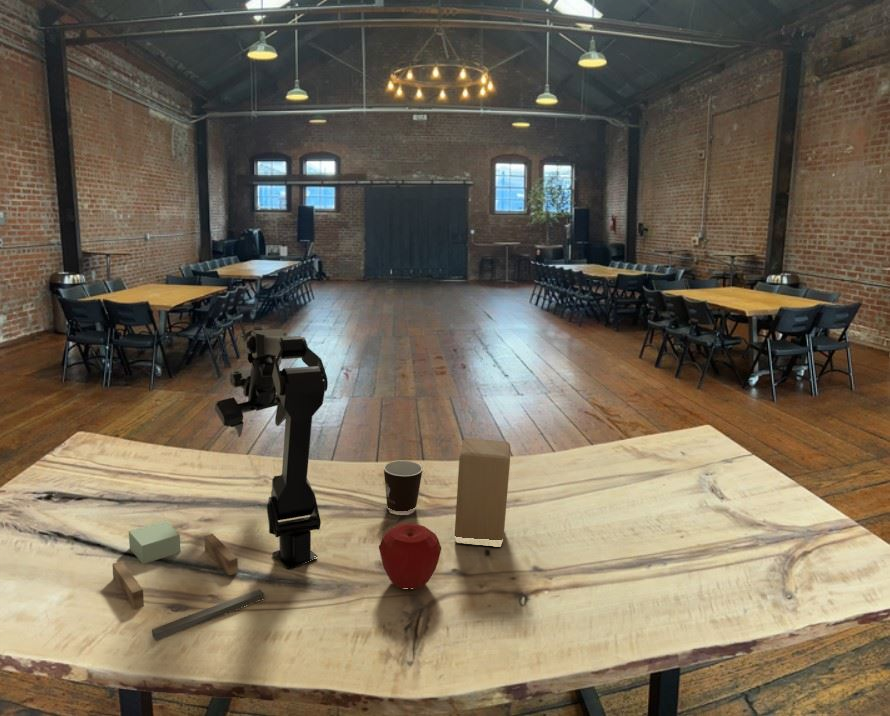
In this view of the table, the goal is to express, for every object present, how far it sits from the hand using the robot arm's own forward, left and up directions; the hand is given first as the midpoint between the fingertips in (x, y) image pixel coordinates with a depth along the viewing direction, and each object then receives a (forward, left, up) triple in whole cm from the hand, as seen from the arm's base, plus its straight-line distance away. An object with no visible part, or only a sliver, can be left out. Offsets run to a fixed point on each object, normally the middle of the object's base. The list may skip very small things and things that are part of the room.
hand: (258, 430), depth 154 cm
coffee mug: (-26, -22, -15) cm, 37 cm away
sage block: (-13, +28, -15) cm, 34 cm away
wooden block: (-46, -27, -15) cm, 55 cm away
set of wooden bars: (-29, +28, -15) cm, 43 cm away
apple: (-51, -4, -15) cm, 53 cm away
